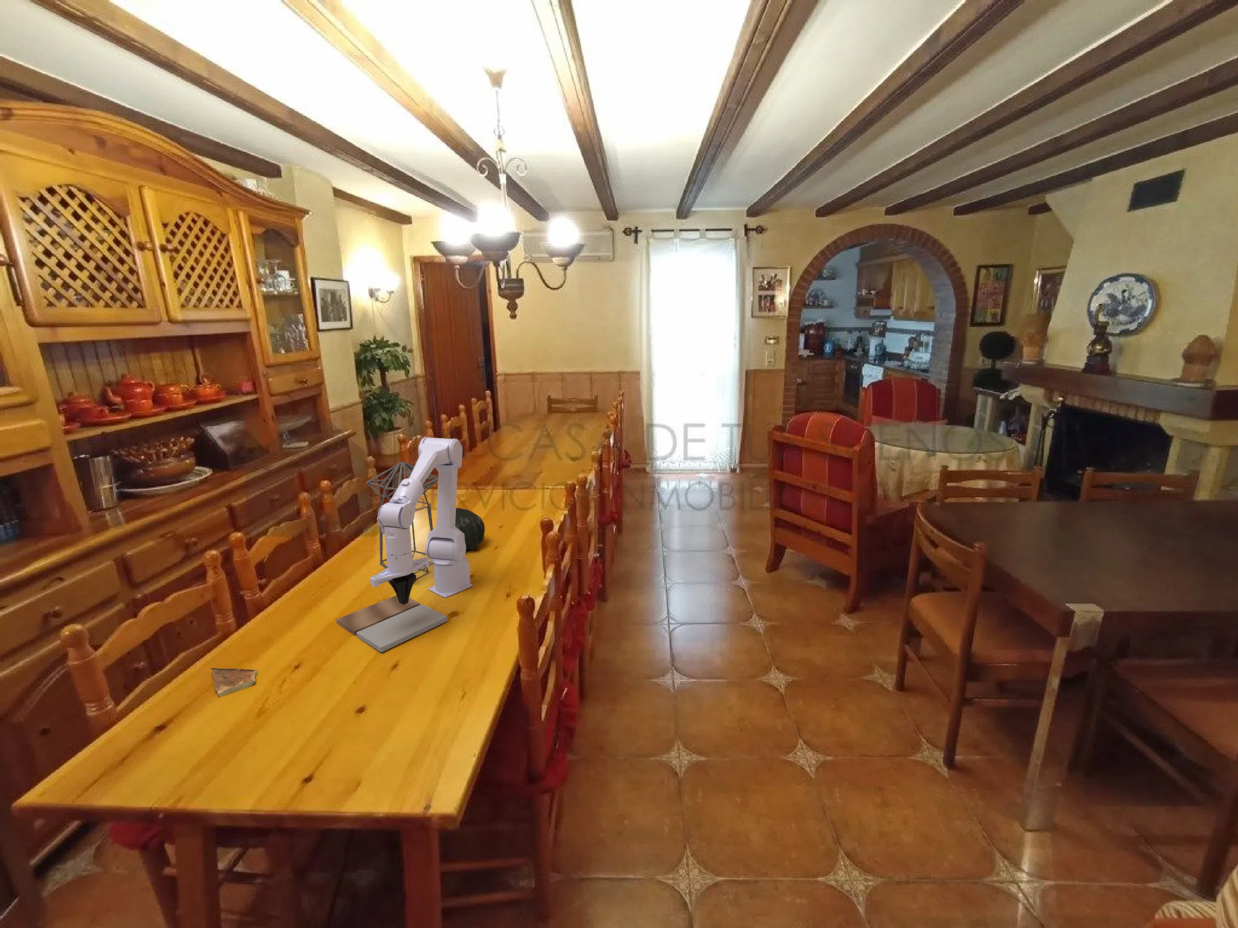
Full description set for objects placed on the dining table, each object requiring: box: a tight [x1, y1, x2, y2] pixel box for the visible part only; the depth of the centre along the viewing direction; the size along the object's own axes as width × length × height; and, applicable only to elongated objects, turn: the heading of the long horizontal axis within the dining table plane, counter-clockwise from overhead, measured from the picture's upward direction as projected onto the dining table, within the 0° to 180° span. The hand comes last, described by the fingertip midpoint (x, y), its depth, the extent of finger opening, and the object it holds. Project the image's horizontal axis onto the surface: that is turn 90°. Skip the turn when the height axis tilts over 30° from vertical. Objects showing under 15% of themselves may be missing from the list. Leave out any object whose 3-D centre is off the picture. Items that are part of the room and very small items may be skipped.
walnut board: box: [335, 594, 421, 637], centre depth 144 cm, size 18×9×1 cm, turn 142°
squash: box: [455, 507, 486, 551], centre depth 187 cm, size 14×15×15 cm
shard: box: [210, 667, 258, 697], centre depth 118 cm, size 11×8×2 cm
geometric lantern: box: [365, 461, 438, 581], centre depth 163 cm, size 16×16×35 cm
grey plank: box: [356, 603, 448, 653], centre depth 138 cm, size 18×11×1 cm, turn 142°
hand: (403, 602), depth 136 cm, fingers closed
